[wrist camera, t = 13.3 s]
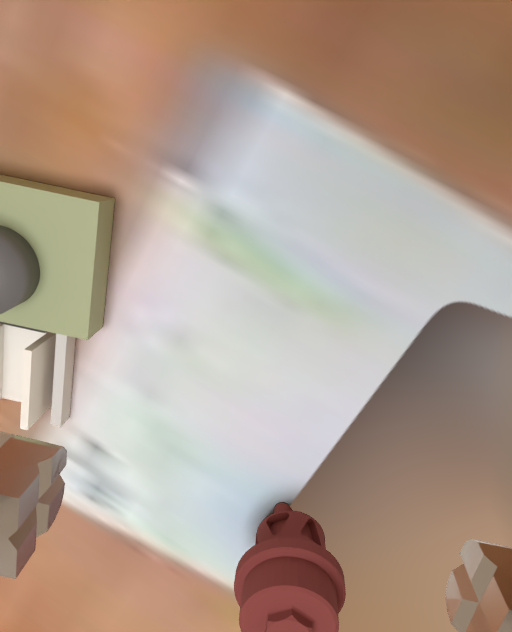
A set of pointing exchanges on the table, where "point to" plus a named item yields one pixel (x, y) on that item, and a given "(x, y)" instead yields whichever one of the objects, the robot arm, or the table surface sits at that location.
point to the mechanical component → (289, 577)
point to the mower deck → (54, 269)
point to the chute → (27, 370)
